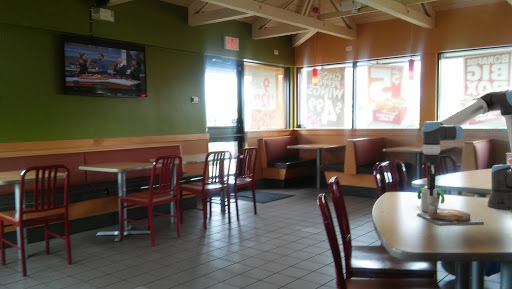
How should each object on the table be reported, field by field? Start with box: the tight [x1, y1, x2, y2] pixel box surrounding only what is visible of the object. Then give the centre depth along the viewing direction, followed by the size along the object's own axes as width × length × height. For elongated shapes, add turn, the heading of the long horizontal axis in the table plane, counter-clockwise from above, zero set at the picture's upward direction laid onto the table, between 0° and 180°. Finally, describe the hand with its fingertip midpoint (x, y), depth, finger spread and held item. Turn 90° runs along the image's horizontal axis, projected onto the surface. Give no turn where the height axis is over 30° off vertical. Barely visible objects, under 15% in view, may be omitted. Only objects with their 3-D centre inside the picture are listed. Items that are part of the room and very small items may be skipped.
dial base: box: [416, 212, 485, 226], centre depth 199 cm, size 21×21×1 cm
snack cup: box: [417, 187, 446, 208], centre depth 228 cm, size 16×10×10 cm
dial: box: [427, 196, 471, 221], centre depth 199 cm, size 19×18×10 cm
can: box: [420, 187, 437, 213], centre depth 218 cm, size 8×8×12 cm
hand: (430, 202), depth 201 cm, fingers closed
